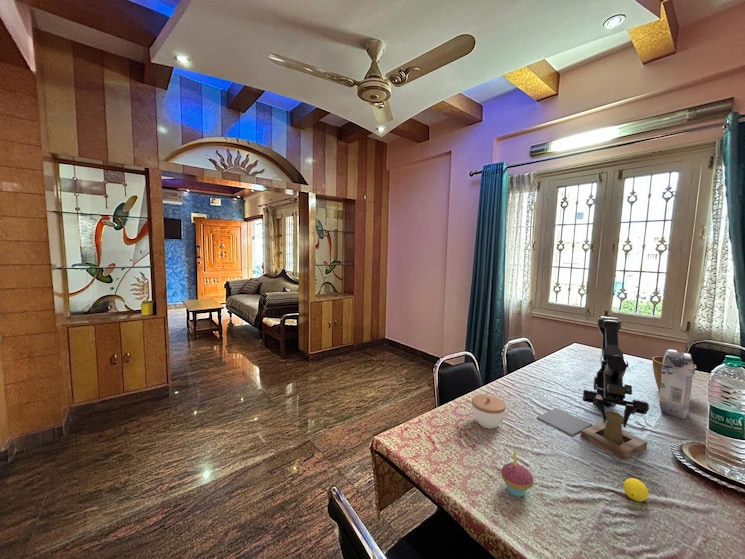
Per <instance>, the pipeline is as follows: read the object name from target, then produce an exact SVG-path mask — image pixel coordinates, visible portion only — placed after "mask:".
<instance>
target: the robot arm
mask: <svg viewBox="0 0 745 559" xmlns="http://www.w3.org/2000/svg"><path fill="white" fill-rule="evenodd" d="M596 320H597V321H596V327H597V328H598V331H599V333H600V334H601V336H602V337H601V338H602V339H601V354H600V356H599V357H600V361H599V362H600V368H599V369H598V370H597V372H596V375H595V376H594V378H593V390H591V389H587V388H585V389H584V390H583V393H582V401H583V402H585V403H586V402H587V403H589V404H590V403H591V404H592V405H593V406H594V407H596V408H597V410H598V411H599V414H600V417H601V418H602V420H603V421H602V422H604V423H607V420H606V410H605V408H610V407H613V406H616V405H619V406H622V407H625V408H624V410H623V418H624V423H623V424H622V426H623V428H626V426H627V424H628V420H629V417H631V414H632V415H634V414H636V413H637V414H641V415H646V414H647V413H648V412H649V410H650V406H649V403H648V402H647V401H646V400H641V399H636V398H633V399H632V401H629V400H625V399H626V395H630V396H632V394H633V388H632V385H630V384H624V381H623V380H624V379H623V377H624V376H625V373H626V370H627V368H629V363H628V361H627V359H626V357H624V352H623V350H621V349H620V347H619V334H618V333H619V330H622V320H619V318H618V317H610V316H601V315H600V317H599V318H597V319H596Z"/></svg>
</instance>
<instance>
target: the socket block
mask: <svg viewBox="0 0 745 559" xmlns="http://www.w3.org/2000/svg"><path fill="white" fill-rule="evenodd" d="M606 423H607V422H606ZM606 423H604V421H601V422H598V423H596V424H592V426H590V427H588V428H586V429H583V430H581V432H580V435H579V436H580V438H582V439H584V440H586V441H588V442H589V443H592V444H593V445H595V446H596V447H599V448H601V449H602V450H604V451H606V452H608V453H609V454H612V456H613V455H614V456H615V457H617V458H618V459H621V460H623V461H625V460H628V459H629V458H631V457H633V456H636V455H637V454H639V453H641V452H643V451H645V450H647V447H648V441H646V440H644V439H642V438H639V437H637V436H635V435H633V434H632V433H629V432H627V431H625V430H623V429H622V438H623V444H622V445H617V444H615V443H613V442H611V441H610V440H608V439H606V438H604V437H603V434H604V430H605V427H606Z"/></svg>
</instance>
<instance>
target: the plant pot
mask: <svg viewBox="0 0 745 559" xmlns="http://www.w3.org/2000/svg"><path fill="white" fill-rule="evenodd" d="M663 359H664V356H653V357H652V370H653V375H654V380H655V383H656V386H657V390H658V392H659V393H660V386H661V376H662V366H663ZM696 369H697V365H696V364H694V363H693V376H694V375H695V372H696Z"/></svg>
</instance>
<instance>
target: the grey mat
mask: <svg viewBox="0 0 745 559" xmlns="http://www.w3.org/2000/svg"><path fill="white" fill-rule="evenodd" d="M536 419H538V420H540V421H542V422H543V423H546V424H548V425H550V426H551V427H553V428H556V429H558V430H559V431H561V432H564V433H565V434H567V435H569V436H572V437H574V436H575V435H578V434H579V433H581V430H583V429H586V428H588V427H591V426H593V423H591V422H588V421H586V420H584V419H583V418H580V417H577V416H575V415H573V414H570V413H568V412H566V411H564V410H561V409H559V408H558V407H555V408H553V409H551V410H549V411H546V412H544V413H542V414H540V415H538V416H536Z"/></svg>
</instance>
